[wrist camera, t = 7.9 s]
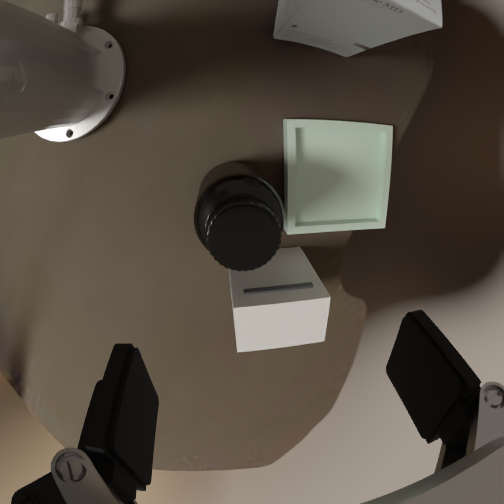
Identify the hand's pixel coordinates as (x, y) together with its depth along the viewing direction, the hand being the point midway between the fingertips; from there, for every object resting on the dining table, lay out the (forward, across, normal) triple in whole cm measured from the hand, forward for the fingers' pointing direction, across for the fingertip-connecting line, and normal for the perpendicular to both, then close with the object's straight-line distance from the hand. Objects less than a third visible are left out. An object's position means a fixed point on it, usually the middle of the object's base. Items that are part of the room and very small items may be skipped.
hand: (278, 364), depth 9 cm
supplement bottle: (+22, 0, 0) cm, 22 cm away
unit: (+22, -3, +9) cm, 24 cm away
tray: (+22, -11, -2) cm, 25 cm away
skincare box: (+22, -9, -18) cm, 30 cm away
